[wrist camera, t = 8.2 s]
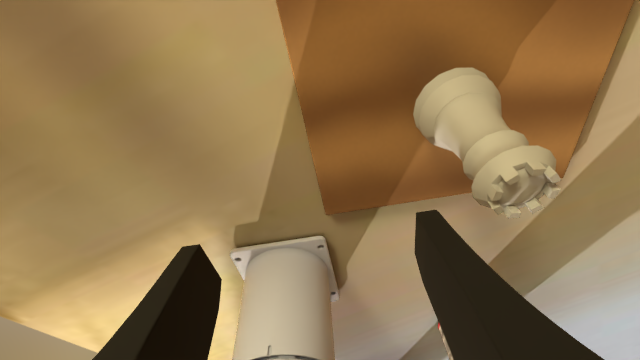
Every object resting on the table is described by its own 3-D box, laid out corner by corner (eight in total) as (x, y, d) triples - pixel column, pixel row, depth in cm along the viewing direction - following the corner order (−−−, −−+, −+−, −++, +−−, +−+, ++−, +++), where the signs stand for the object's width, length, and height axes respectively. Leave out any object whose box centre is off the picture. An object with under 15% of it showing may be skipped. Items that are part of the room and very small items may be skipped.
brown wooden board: (558, 173, 23) (563, 178, 22) (325, 210, 24) (325, 215, 24) (662, -101, 13) (676, -102, 13) (273, -17, 15) (272, -15, 14)
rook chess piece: (427, 148, 20) (483, 248, 14) (398, 93, 18) (450, 185, 12) (498, 111, 19) (596, 204, 13) (477, 46, 16) (584, 122, 10)
